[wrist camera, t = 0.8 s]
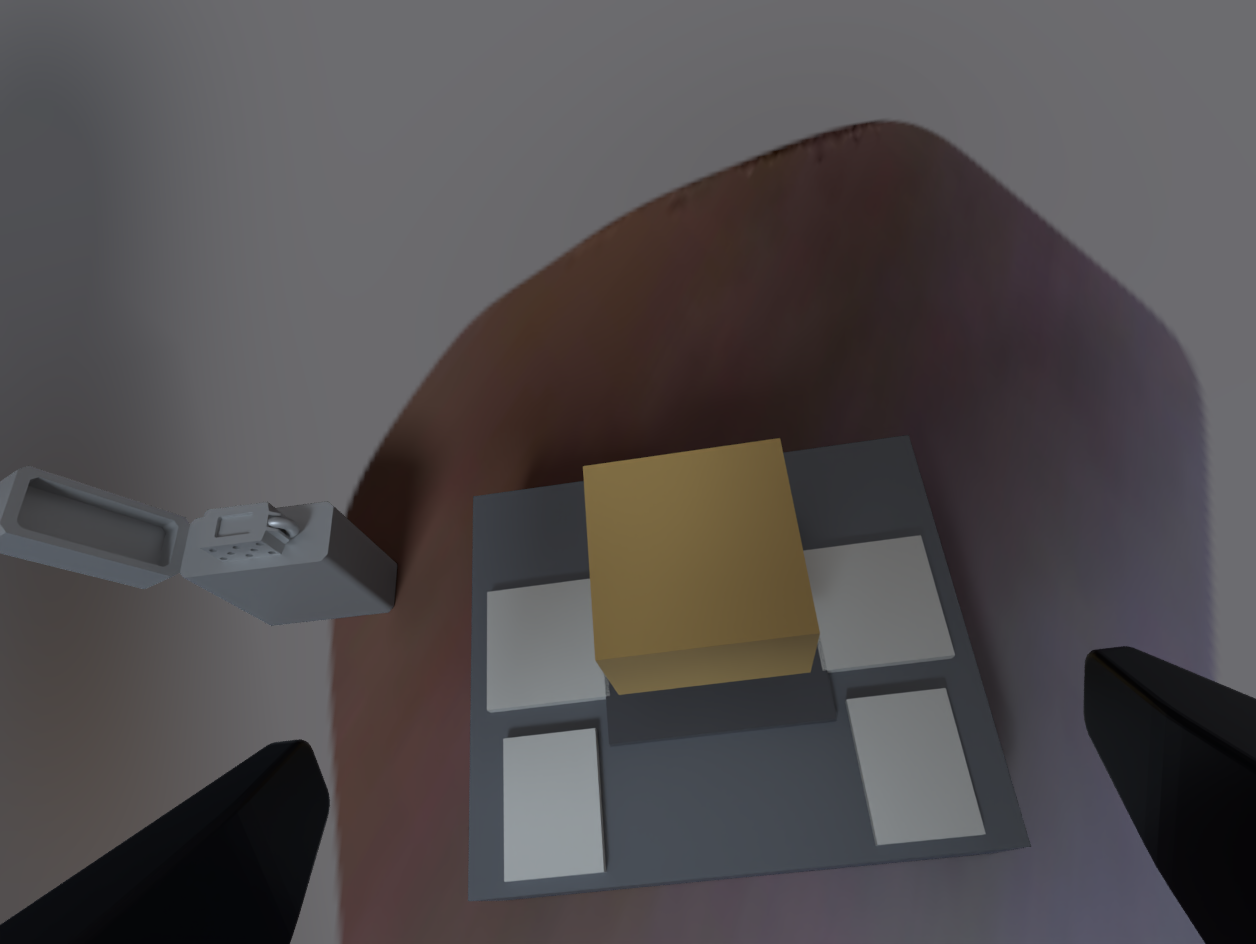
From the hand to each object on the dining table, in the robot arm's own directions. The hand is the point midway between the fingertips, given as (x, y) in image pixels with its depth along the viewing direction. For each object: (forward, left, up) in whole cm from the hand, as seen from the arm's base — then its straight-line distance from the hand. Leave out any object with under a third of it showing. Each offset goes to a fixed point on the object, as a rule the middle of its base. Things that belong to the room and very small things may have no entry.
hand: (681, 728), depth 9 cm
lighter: (+8, +13, -13) cm, 20 cm away
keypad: (+4, 0, -13) cm, 13 cm away
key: (+4, 0, -7) cm, 8 cm away
